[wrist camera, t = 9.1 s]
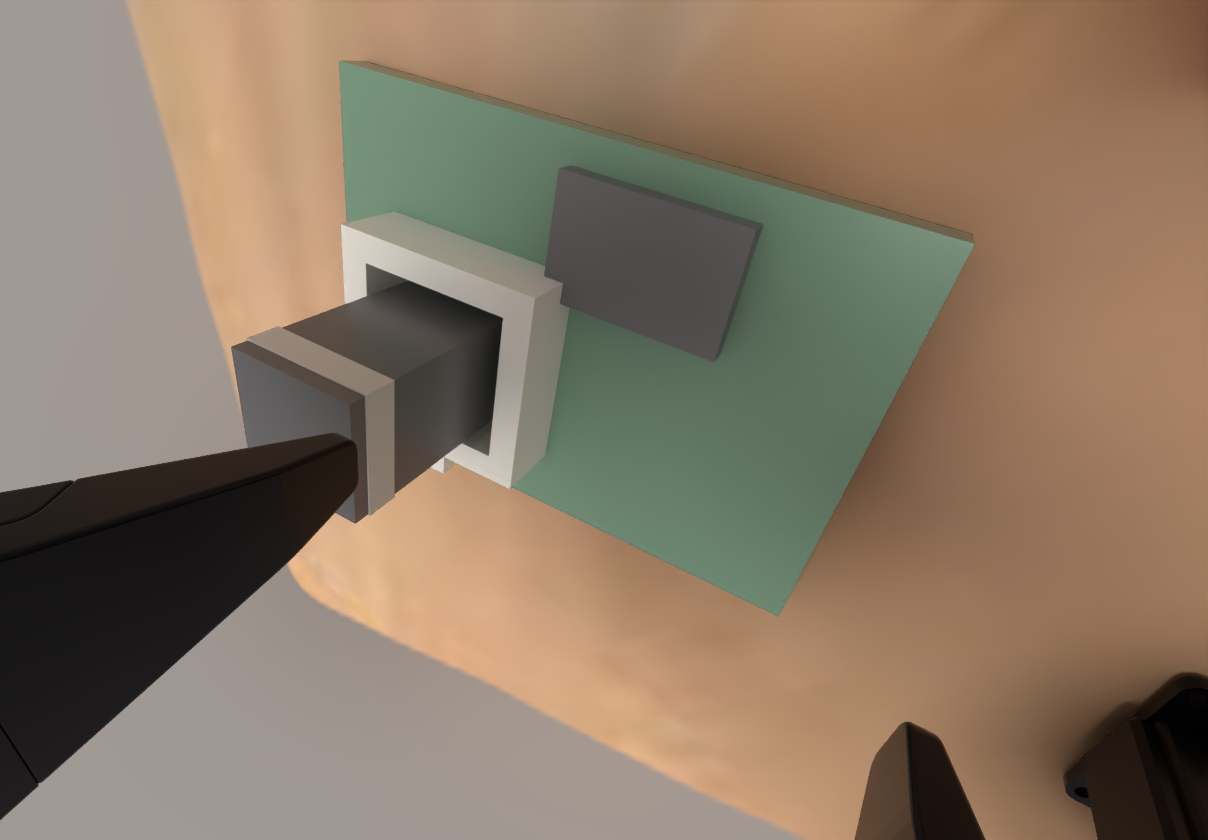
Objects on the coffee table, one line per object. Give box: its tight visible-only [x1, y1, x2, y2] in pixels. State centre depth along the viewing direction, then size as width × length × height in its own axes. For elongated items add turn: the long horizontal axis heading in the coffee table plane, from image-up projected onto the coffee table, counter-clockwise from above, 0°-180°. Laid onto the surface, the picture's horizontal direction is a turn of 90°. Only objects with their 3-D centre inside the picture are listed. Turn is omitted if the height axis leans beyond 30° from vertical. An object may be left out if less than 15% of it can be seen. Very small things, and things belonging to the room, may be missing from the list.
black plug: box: [231, 281, 503, 524], centre depth 20 cm, size 4×4×8 cm
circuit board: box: [339, 61, 975, 617], centre depth 21 cm, size 20×14×4 cm
